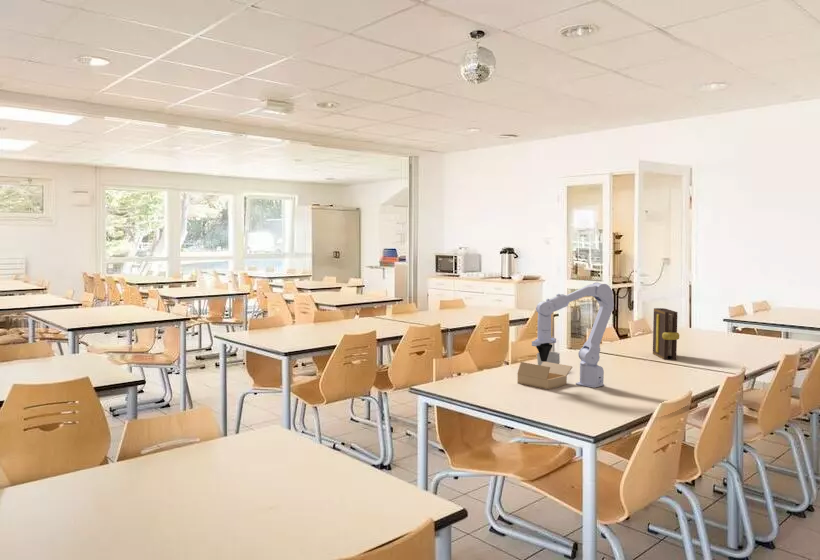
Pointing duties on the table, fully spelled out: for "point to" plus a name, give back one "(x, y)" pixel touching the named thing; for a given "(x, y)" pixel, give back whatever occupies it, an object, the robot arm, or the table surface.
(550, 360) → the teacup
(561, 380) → the carton
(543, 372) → the flap left
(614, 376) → the table surface
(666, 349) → the book
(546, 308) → the robot arm
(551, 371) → the flap right
